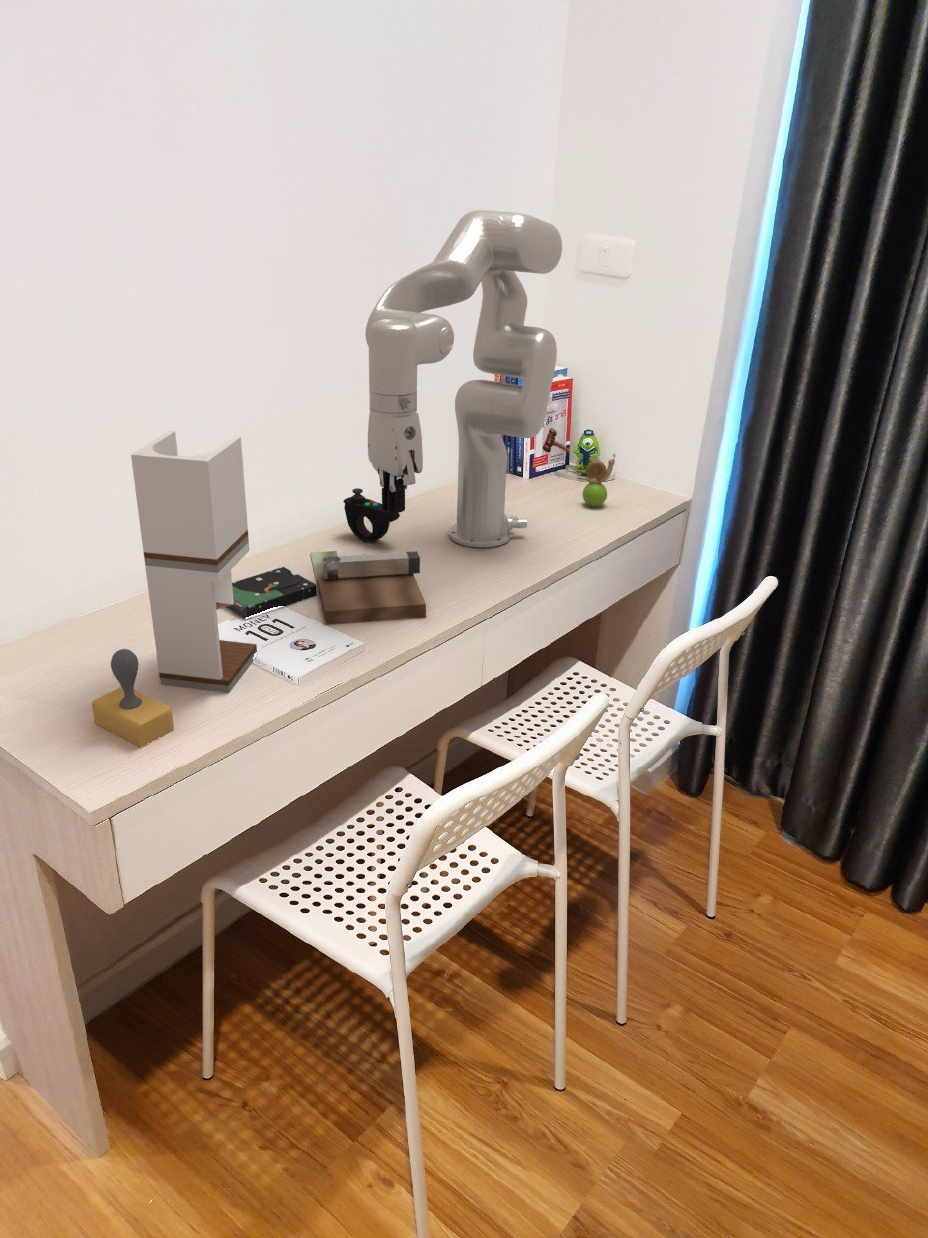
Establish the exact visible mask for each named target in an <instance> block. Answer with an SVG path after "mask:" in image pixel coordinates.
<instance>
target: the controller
mask: <svg viewBox="0 0 928 1238" xmlns="http://www.w3.org/2000/svg"><path fill="white" fill-rule="evenodd" d="M363 491H364V490H363V489H362V488H356V487H355V488H353V489H352V493H353V495H352V496H350V497H347V498H345V499H344V500H343V503H344V508H343V509H344V512H345V518H346V522H347V525H348V527H349V529H350V531H351V533H353V535H354V536H355V537H356V538H358V539H359V540H360V541H364V542H367V543H371V542H373V543H374V542H376V541H378V540H380V539H382V538H384V537H385V536H386V535H387V534H388V530H389V528H390V524H391V523H392V522H395V521H396V520H398V519H399V518H400V517H401V514H400V512H399V513H395V514H389V513H388V512H387V511H383V510H382V502H377V501H375V500H372V499H369V498H367V497H365V496H364V495H362V493H363ZM365 518H366V519H367V520H368V521H369V522H370V524H371V528H372V529H371V530H372V532H371V531H370V530H369V529H368V528H367V526H366V524H365Z"/></svg>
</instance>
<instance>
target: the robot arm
mask: <svg viewBox="0 0 928 1238" xmlns="http://www.w3.org/2000/svg"><path fill="white" fill-rule="evenodd" d="M562 251H563V240H562V237H561V233H560V232H559V230H558V228H557V227H556V226H555V225H554V224H552V223H550V222H547V221H545V220H542V219H541V218H539V217H538V218H537V217H535V216H532V215H529V214H526V213H522V212H513V211H500V210H499V211H497V210H485V209H483V210H482V209H480V210H479V209H478V210H472V211H469V212H467V213H465V214H464V215H463V216H462V217H461V218H460V219H459V220H458V222H457V223H456V226H454V229H453V230H452V231H451V233H450V235H449V236H448V238H447V239H446V241H445V242H444V243H443V246H442V247H441V249H440V250H439V251H438V253H437V255H436V256H435V258H434V259H433V261H432V262H430V263H428V264H426V265H424V266H421V267H419V268H418V269H416V270H414V271H412V272H410V273H409V274H407V275H405V276H403V277H401V278H400V279H398V280H397V281H395V282H394V283H393V284H391V285H390V286H389V287H388V288H387V289H386V290H384V292H383V294H382V295H381V296H380V298H379V299H378V301H377V303H376V304H375V306H374V308H373V309H372V311H371V313H370V315H369V317H368V319H367V322H366V327H365V341H366V344H367V347H368V392H369V394H368V395H369V398H368V399H369V415H368V425H367V457H368V461H369V462H370V463H371V464H372V467H373V469H374V470H375V471H376V472H377V474H378V476H379V486H380V487H381V504H382V510H383V511H387V512H388V513H389V514H395V513H399V514H400V513H403V512H405V510H406V490H407V489H408V486H411V485H415V484H416V481H417V479H416V474H420V473H422V472H423V470H424V469H423V467H424V465H423V464H424V461H423V460H424V459H423V458H424V457H423V456H424V455H423V437H422V436H423V435H422V428H421V421H420V416H419V413H417V412H418V366H419V365H427V364H428V365H431V364H436V363H439V362H441V361H442V360H445V358H446V357H448V355H449V354H450V352H451V351H452V349H453V346H454V342H455V333H454V329H453V326H452V325H451V323H450V322H449V321H448V320H447V319H446V318H444V317H443V316H440V315H438V314H432V313H423V312H427V311H429V310H434V309H438V308H440V309H441V308H445V307H449V306H453V305H455V304H459V303H462V302H465V301H467V300H468V299H470V298H472V296H473V295H474V294H475V292H476V291H477V289H478V287H479V285H480V284H481V286H482V287H481V288H482V301H481V307H480V312H479V318H478V323H477V328H476V334H475V339H474V345H473V352H472V359H473V364H474V366H475V367H476V369H478V370H479V371H481V372H483V373H487V374H491V375H497V376H501V377H502V376H503V377H509V378H511V377H512V378H516V379H517V378H518V379H522V385H519V384H512V383H507V382H501V381H495V380H488V379H471V380H469V381H466V382H464V383H463V384H462V385H460V387H459V388H458V390H457V392H456V395H455V397H454V398H455V399H454V413H455V419H456V424H457V433H458V434H457V435H458V464H457V466H458V467H457V469H458V470H457V501H456V503H457V504H456V523H454V524H453V525H451V526H450V527H449V529H448V536H449V539H451V541H453V542H454V543H456V544H458V545H462V546H464V547H470V548H482V549H484V548H494V547H498V546H502V545H504V544H506V543H508V542H509V541H510V540H511V532H512V529H526V528H527V526H528V521H527V518H518V515H510V516H507V515H506V514H505V505H506V501H505V500H506V484H507V483H506V482H507V465H508V453H507V448H506V445H505V443H504V440H503V438H502V437H501V435H503V436H510V437H515V438H522V439H530V438H534V437H536V436H537V435H538V434H539V433H540V432H541V430H542V428H543V425H544V422H545V418H546V415H547V410H548V406H549V401H550V395H551V391H552V390H551V389H552V385H553V381H554V380H553V379H554V375H555V370H556V365H557V357H558V353H557V352H558V350H557V349H558V347H557V342H556V339H555V336H554V335H553V333H551V331H549V330H548V329H546V328H543V327H538V326H529V325H528V326H527V325H525V319H526V313H527V308H528V296H527V293H526V290H525V288H524V285H523V284H522V281H521V280H520V278H519V276H518V274H517V273H516V272H521V273H529V274H530V273H531V274H537V275H538V274H541V275H546V274H548V273H551V272H552V271H554V270H555V269H556V268H557V266H558V265H559V263H560V260H561V257H562Z"/></svg>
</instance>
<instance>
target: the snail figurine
mask: <svg viewBox="0 0 928 1238" xmlns="http://www.w3.org/2000/svg"><path fill="white" fill-rule="evenodd" d="M612 457H613V458H610V459H609V460H608V466H606V465H605V463H604V462H602V461H600V460H591V461H590V462H588V463H587V464H586V466H585V475H587V476H586V477H584V479H585V481H587V482H588V483H587V484H585V486H584V487H583V490H582V499H583V501H584V502H585V504H587V506H590V507H599V506H601V505H603V504H604V503H605V502H606V500H607V497H608V490H607V488H606V486H605V485H604V484H603V483H605V482H606V481H607V480H608V479H609V477H610V476H611V474H612V472H613V469H614V465H615V463H616V460H615V458H616V454H615V453H612Z"/></svg>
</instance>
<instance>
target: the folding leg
mask: <svg viewBox="0 0 928 1238" xmlns="http://www.w3.org/2000/svg"><path fill="white" fill-rule="evenodd" d="M322 563H323V577H324V579H337V578H347V577H363V576H378V575H394V574H415V575H417V574H420V573H421V557H420V555H419V552H418V551H405V552H392V553H391V552H390V553H373V554H358V555H340V556H339V555H338V557H336V556H328V557H322Z"/></svg>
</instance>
